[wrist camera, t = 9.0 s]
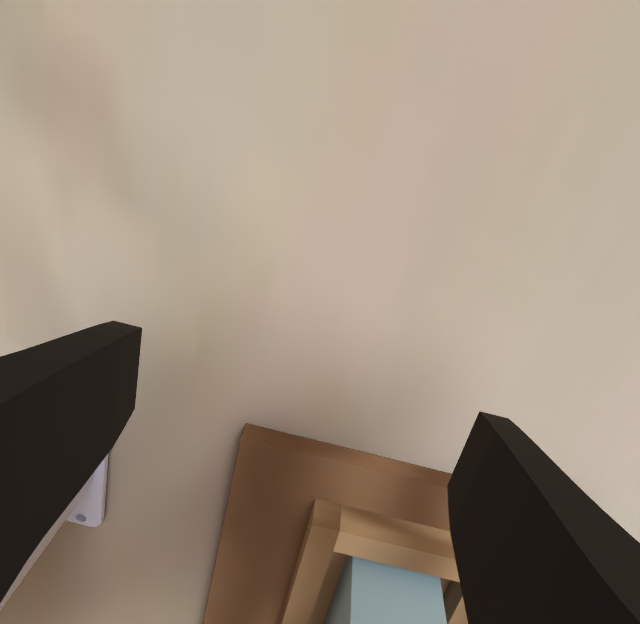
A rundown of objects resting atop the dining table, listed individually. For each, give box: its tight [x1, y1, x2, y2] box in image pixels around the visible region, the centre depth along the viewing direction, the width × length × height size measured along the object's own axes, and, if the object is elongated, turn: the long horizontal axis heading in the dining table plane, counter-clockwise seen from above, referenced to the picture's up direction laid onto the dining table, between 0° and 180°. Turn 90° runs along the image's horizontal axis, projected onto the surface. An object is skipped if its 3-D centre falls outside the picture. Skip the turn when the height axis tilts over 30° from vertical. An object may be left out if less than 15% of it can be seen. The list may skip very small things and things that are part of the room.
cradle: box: [203, 424, 468, 624], centre depth 25 cm, size 16×18×2 cm
